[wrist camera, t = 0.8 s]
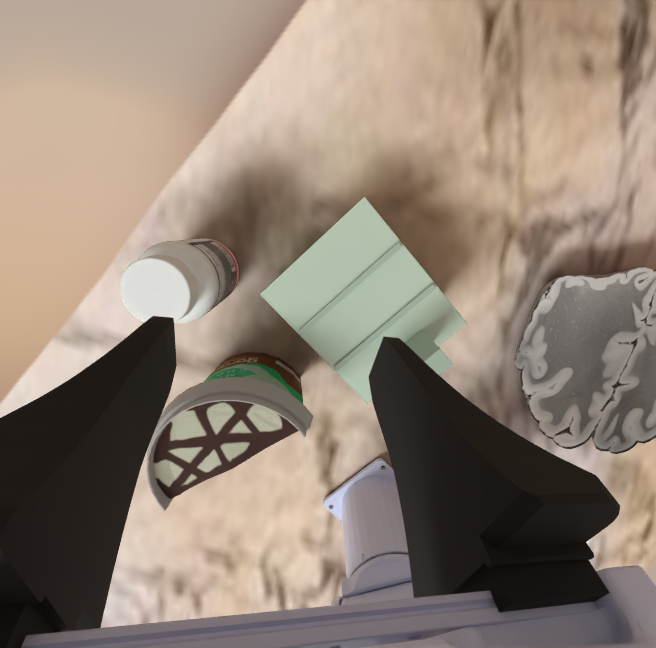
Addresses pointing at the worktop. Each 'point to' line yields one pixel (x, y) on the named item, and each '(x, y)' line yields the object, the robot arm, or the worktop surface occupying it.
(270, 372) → the food container
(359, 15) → the worktop surface
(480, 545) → the robot arm
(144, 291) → the pill bottle
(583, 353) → the brain slice
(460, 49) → the worktop surface
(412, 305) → the lid
